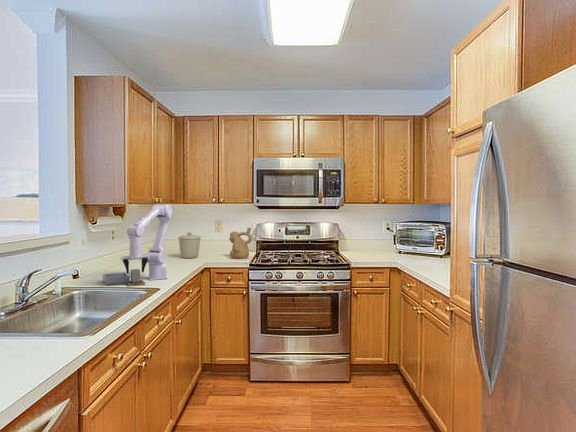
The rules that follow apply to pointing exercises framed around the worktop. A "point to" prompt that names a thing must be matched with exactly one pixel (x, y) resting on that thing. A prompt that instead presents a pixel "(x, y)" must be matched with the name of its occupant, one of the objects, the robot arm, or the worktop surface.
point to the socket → (135, 283)
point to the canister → (189, 245)
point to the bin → (116, 278)
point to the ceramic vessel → (240, 244)
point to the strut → (135, 276)
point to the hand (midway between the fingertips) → (135, 272)
